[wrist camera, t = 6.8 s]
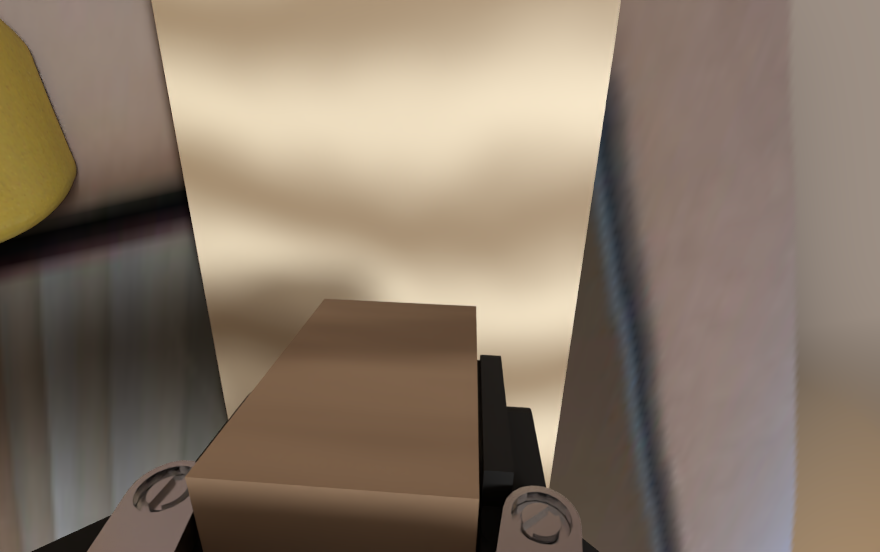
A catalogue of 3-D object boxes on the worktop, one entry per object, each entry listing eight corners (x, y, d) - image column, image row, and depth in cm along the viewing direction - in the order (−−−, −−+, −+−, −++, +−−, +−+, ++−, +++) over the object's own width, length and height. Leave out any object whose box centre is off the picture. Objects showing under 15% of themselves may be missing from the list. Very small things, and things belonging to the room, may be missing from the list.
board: (168, -29, 15) (143, -40, 14) (614, -26, 14) (626, -38, 13) (265, 550, 25) (255, 570, 24) (530, 572, 24) (532, 595, 23)
